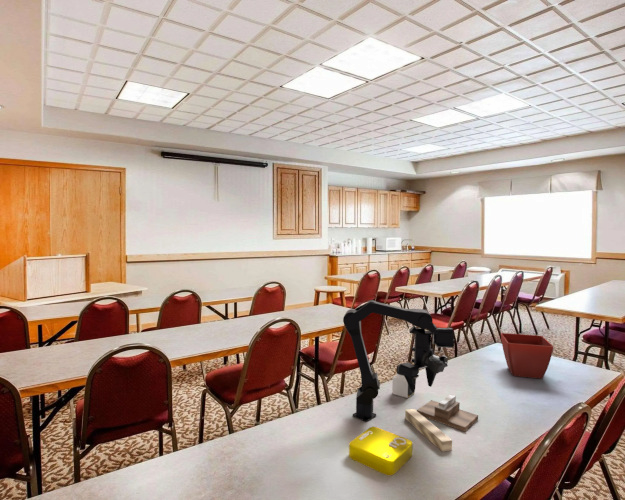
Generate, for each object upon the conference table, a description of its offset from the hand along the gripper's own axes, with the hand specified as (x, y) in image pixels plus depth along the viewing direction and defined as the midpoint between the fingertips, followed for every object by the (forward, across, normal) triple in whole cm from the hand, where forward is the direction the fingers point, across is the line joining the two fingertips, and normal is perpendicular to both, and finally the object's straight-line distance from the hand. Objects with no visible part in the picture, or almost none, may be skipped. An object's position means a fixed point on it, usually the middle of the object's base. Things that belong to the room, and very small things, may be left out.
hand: (421, 389), depth 136 cm
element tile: (+12, -27, -7) cm, 30 cm away
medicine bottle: (+12, +13, +20) cm, 27 cm away
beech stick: (+12, -4, -6) cm, 14 cm away
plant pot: (+12, +81, +4) cm, 82 cm away
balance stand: (+12, +11, -3) cm, 16 cm away
